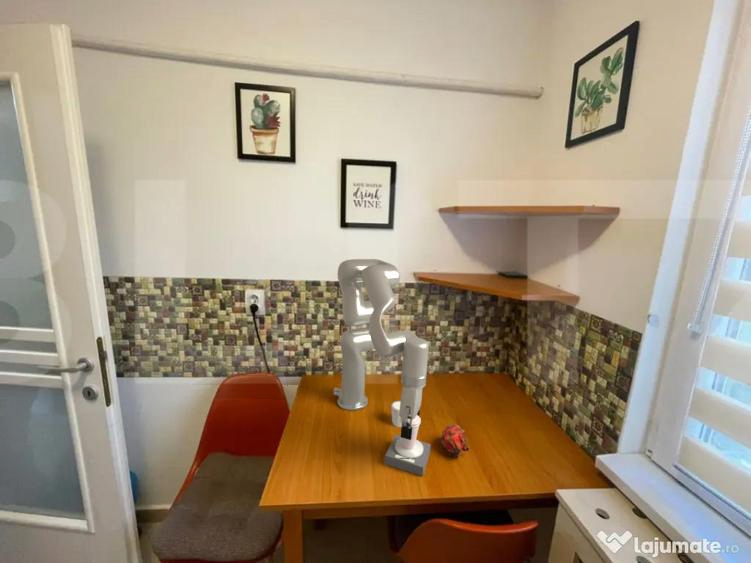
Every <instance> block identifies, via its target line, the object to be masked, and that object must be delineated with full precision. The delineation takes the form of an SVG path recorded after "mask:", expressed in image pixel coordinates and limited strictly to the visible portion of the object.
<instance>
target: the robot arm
mask: <svg viewBox="0 0 751 563" xmlns="http://www.w3.org/2000/svg"><path fill="white" fill-rule="evenodd" d="M337 280H338V284H339V287H340V291H341V302H342V303H341V305H342V307H341V308H342V318H343V319H342V320H343V322H344V324H345V325H346V326H349V327H356V326H363V325H364V326H365V325H366V326H365V327H358V328H352V329H348V330H345V331H344V332H343V333H342V334H341V336H340V339H339V340H340V342H339V343H340V348H341V358H342V360H341V361H342V362H341V364H342V365H341V388H339V387H336V386H335V387H334V388H333V395H334V396H337V397H338V398H337V404H338V406H339V407H340V408H341V409H344V410H346V411H359V410H362V409H363V408H365V407H366V406H368V403H369V402H368V401H369V400H368V397H367V396H366V395H365V389H366V388H365V387H366V386H365V383H366V381H365V380H366V360H365V358H364V357H363V356H362V354H361V353H363V352H367V351H372V350H375V351H376V353H377V354H378V356H380V357H381V358H382V359H389V358H394V357H398V356H402V366H401V378H400V380H401V381H400V382H401V385H402V390H401V396H400V401H401V402H400V411H399V415H400V417H403V419H402V425H401V427H400V428H401V429H400V436H401V437H402V438H405V439H408V440H411V438H412V427H411V425H412V420H413V419H415V417H416V415H418V416H419V417H420V413H421V412H420V408H421V405H422V402H423V401H422V400H423V399H422V398H423V388H424V387H425V386H427V374H428V373H427V371H428V359H429V349H430V348H429V347H430V346H429V342H428V341H427V340H426V339H424V338H419V336H417V335H416V334H415V333H414V332H412V331H411V330H406V329H404V330H399V331H393V332H386V333H385V330H384V328H383V325H382V316H383V315H384V314H385V313H387V312H388V311H390V310H391V309H393V308H394V307H395V305H396V303H397V299H396V297H395V294H394V292H393V290H392V288H393V287H397V286H398V285H399V284H400V281H401V274H400V271H399V270H398V268H397V266H395V265H394V264H392V263H390V262H385V261H384V260H381V259H376V258H375V259H374V258H373V259H372V258H367V259H366V258H365V259H363V258H360V259H359V258H357V259H356V258H354V259H353V258H352V259H347V260H346V259H345V260H344V261H342V262H341V263H339V265H338V267H337ZM358 282H362V283H363V286H364V289H365V292H366V293H367V297H368V300H364V293H363V289H362V287H361V285H360V284H359V283H358ZM403 415H404V416H403ZM409 415H411V417H409ZM408 419H410V423H409V422H408Z"/></svg>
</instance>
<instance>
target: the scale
mask: <svg viewBox="0 0 751 563" xmlns="http://www.w3.org/2000/svg"><path fill="white" fill-rule="evenodd" d="M431 447H432V444H430V443H427V442H425V441H419V440H418V439H416V443H415V447H414V449H412V450H407V449H405V448H404V447H403V438H402V437H401V435H399V434H395V435H394V437H393V440H392V441H391V443H390V445H389V447H388V449H387V451H386V453H385V456H384V465H386V466H389V467H392V468H395V469H398V470H402V471H405V472H407V473H410V474H414V475H417V476H420V477H423V476H424V474H425V470H426V468H427V464H428V461H429V458H430V455H431Z"/></svg>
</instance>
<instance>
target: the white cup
mask: <svg viewBox="0 0 751 563" xmlns="http://www.w3.org/2000/svg"><path fill="white" fill-rule="evenodd" d="M400 402H401V400H396V401H393V402H392V403H391V407H390V408H391V424H392V425H393V426H395V427H397V428H401V425H402V423H401V421H400V419H401V417H400V415H399V411H400Z"/></svg>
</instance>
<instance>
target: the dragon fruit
mask: <svg viewBox="0 0 751 563" xmlns="http://www.w3.org/2000/svg"><path fill="white" fill-rule="evenodd" d="M465 433H466V431H465V429H462V428H461V427H460V426H459V425H458V424H453V423H452V424H451V425H447V426H445V429H442V435H441V441H440V442H441V445H442V446H443V447H444V448H445V450H446V452H447V454H448V455H450V456H451V457H454V455H455V456H456V457H457V458H458V457H460V456H462V451H463V452H468V451H469V450H470V446H467V443H466V442H467V440H468V439H467V437H466V436H464V435H465Z"/></svg>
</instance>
